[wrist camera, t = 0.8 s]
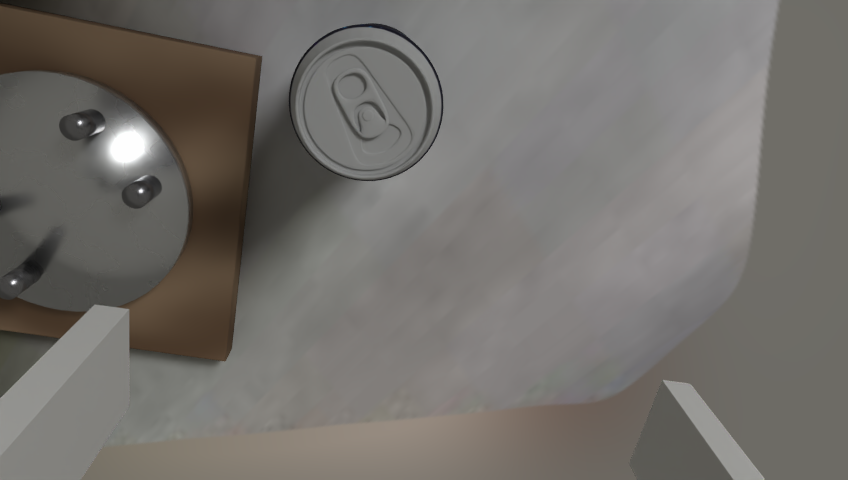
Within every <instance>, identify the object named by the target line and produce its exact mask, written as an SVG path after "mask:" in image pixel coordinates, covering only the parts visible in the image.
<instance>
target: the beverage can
mask: <svg viewBox="0 0 848 480" xmlns="http://www.w3.org/2000/svg"><path fill="white" fill-rule="evenodd" d="M289 109H290V116H291V120H292V124H293V127H294V130H295V132H296V134H297V136H298V138H299V140H300V142H301V144H302V145H303V147H304V148H305V149H306V151H307V152H308V153H309V154H310V155H311V156H312V157H313V158H314V159H315V160H316V161H317V162H318V163H319V164H321V165H322V166H323V167H325V168H326V169H328V170H330V171H331V172H333V173H335V174H338V175H340V176H343V177H346V178H349V179H354V180H361V181H376V180H383V179H387V178H391V177H393V176H396V175H399V174H401V173H403V172H405V171H406V170H408V169H409V168H411V167H412V166H414V165H415V164H416V163H417V162H418V161H420V160H421V159H422V158H423V156H424V155H425V154H426V153H427V152H428V150H429V149H430V147H431V146H432V144H433V143H434V141H435V139H436V137H437V134H438V132H439V129H440V125H441V121H442V115H443V94H442V88H441V84H440V81H439V78H438V75H437V73H436V71H435V69H434V67H433V65H432V63H431V62H430V60H429V59H428V57H427V56H426V55H425V53H424V52H423V51H422V50H421V49H420V48H419V47H418V46H417V45H416V44H415V43H414V42H413V41H412V40H410V39H409V38H408V37H407V36H406V35H405V34H403V33H402V32H400V31H398V30H397V29H395V28H392V27H390V26H386V25H382V24H360V25H352V26H347V27H343V28H340V29H337V30H335V31H332V32H330V33H328V34H327V35H325V36H323V37H322V38H320V39H319V40H318V41H317V42H315V43H314V44H313V45H312V46H311V47H310V48H309V49H308V50H307V51H306V53H305V54H304V55H303V57H302V58H301V60H300V62H299V63H298V65H297V67H296V69H295V72H294V74H293V77H292V81H291V85H290V92H289Z"/></svg>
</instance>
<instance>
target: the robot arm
mask: <svg viewBox="0 0 848 480" xmlns="http://www.w3.org/2000/svg"><path fill="white" fill-rule="evenodd" d="M128 408H129V309H125V308H117V307H110V306H102V305H94V306H93V307H92V308H91V309H90V310H89V311H88V312H87V313H86V314H85V315H84V316H83V317H82V318H80V319H79V320H78V321H77V322H76V323H75V324H74V325H73V326H72V327H71V328H70V329H69V330H68V331H67V332H66V333H65V334H64V335H63V336H62V337H61V338H60V339H59V340H58V341H57V342H56V343H55V344H54V345H53V346H52V347H51V348H50V349H49V350H48V351H47V352H46V353H45V354H44V355H43V356H42V357H41V358H40V359H39V360H38V361H37V362H36V363H35V364H34V365H33V366H32V367H31V368H30V369H29V370H28V371H27V372H26V373H25V374H24V375H23V376H22V377H21V378H20V379H19V380H18V381H17V382H16V383H15V384H14V385H13V386H12V387H11V388H10V389H9V390H8V391H7V392H6V393H5V394H4V395H3V396H2V397H1V398H0V480H81V478H82V477H83V475H84V474H85V472H86V471H87V469H88V468H89V466H90V465H91V463H92V462H93V460H94V459H95V457H96V456H97V454H98V453H99V451H100V450H101V448H102V447H103V445H104V444H105V442H106V441H107V439H108V438H109V436H110V435H111V433H112V432H113V430H114V429H115V427H116V426H117V424H118V423H119V421H120V420H121V418H122V417H123V415H124V414H125V412H126V411H127V409H128ZM629 465H630V467H631V469H632V470H633V473H634V474H635V476H636V478H637V480H765V479H764V478H763V476H762V475H761V474H760V473H759V471H758V470H757V469H756V467H755V466H754V465H753V464H752V462H751V461H750V460H749V458H748V457H747V456H746V455H745V453H744V452H743V451H742V449H741V448H740V447H739V446H738V444H737V443H736V442H735V440H734V439H733V438H732V437H731V436H730V434H729V433H728V431H727V430H726V429H725V428H724V426H723V425H722V424H721V423H720V422H719V420H718V419H717V418H716V416H715V415H714V414H713V412H712V411H711V410H710V408H709V407H708V406H707V405H706V403H705V402H704V401H703V399H702V398H701V397H700V396H699V394H698V393H697V392H696V391H695V389H694V388H693V387H692V385H691V384H688V383H680V382H673V381H666V380H662V382H661V385H660V387H659V390H658V392H657V395H656V397H655V400H654V402H653V405H652V408H651V410H650V412H649V415H648V417H647V420H646V422H645V425H644V427H643V430H642V432H641V435H640V438H639V440H638V443H637V445H636V448H635V450H634V452H633V455H632V457H631V460H630V463H629Z"/></svg>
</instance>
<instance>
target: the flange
mask: <svg viewBox="0 0 848 480" xmlns="http://www.w3.org/2000/svg"><path fill="white" fill-rule="evenodd" d="M192 221H193V196H192V189H191V184H190V181H189V177H188V174H187V170H186V168H185V166H184V163H183V161H182V159H181V156H180V154H179V153H178V151H177V149H176V147H175V146H174V144H173V142H172V141H171V139H170V138H169V137H168V135H167V134H166V133H165V131H164V130H163V129H162V127H161V126H160V125H159V124H158V123H157V122H156V121H155V120H154V119H153V118H152V117H151V116H150V114H148V113H147V112H146V111H145V110H144V109H143V108H141V107H140V106H139V105H138V104H137V103H136V102H134V101H133V100H131V99H130V98H128V97H127V96H125V95H124V94H122V93H121V92H119V91H117V90H115V89H113V88H111V87H109V86H108V85H106V84H104V83H101V82H99V81H96V80H93V79H91V78H88V77H85V76H81V75H77V74H74V73H70V72H63V71H55V70H29V71H21V72H14V73H6V74H1V75H0V298H3V299H6V300H11V299H14V298H15V297H18V298H21V299H23V300H25V301H28V302H30V303H34V304H37V305H40V306H43V307H48V308H53V309H58V310H65V311H76V312H80V311H89V310H90V309H91V308H92V307H93V306H94V305H102V306H110V307H117V306H121V305H124V304H126V303H128V302H131V301H133V300H136V299H137V298H139V297H141V296H142V295H144V294H146V293H147V292H149V291H150V290H151V289H152V288H154V287H155V286H156V285H158V284H159V282H160V281H161V280H162V279H163V278H164V277H165V276H166V275H167V274H168V273H169V272H170V271H171V269H172V268H173V267H174V266H175V264H176V263H177V261H178V260H179V258H180V257H181V255H182V253H183V251H184V249H185V247H186V245H187V242H188V239H189V236H190V232H191V228H192Z"/></svg>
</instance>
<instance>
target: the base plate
mask: <svg viewBox="0 0 848 480" xmlns="http://www.w3.org/2000/svg"><path fill="white" fill-rule="evenodd" d="M261 62H262V56H257V55H253V54H248V53H243V52H238V51H233V50H228V49H223V48H218V47H213V46H209V45H204V44H199V43H194V42H189V41H184V40H179V39H174V38H169V37H164V36H160V35H155V34H150V33H145V32H140V31H135V30H130V29H125V28H120V27H116V26H111V25H106V24H101V23H96V22H91V21H86V20H81V19H76V18H72V17H67V16H62V15H57V14H52V13H47V12H42V11H37V10H32V9H28V8H23V7H18V6H13V5H8V4H3V3H0V75H1V74H6V73H14V72H21V71H29V70H55V71H63V72H70V73H74V74H77V75H81V76H85V77H88V78H91V79H93V80H96V81H99V82H101V83H104V84H106V85H108V86H109V87H111V88H113V89H115V90H117V91H119V92H121V93H122V94H124V95H125V96H127V97H128V98H130V99H131V100H133V101H134V102H136V103H137V104H138V105H139V106H140V107H141V108H143V109H144V110H145V111H146V112H147V113H148V114H150V116H151V117H152V118H153V119H154V120H155V121H156V122H157V123H158V124H159V125H160V126H161V127H162V129H163V130H164V131H165V133H166V134H167V135H168V137H169V138H170V139H171V141H172V142H173V144H174V146H175V147H176V149H177V151H178V153H179V154H180V156H181V159H182V161H183V163H184V166H185V168H186V170H187V174H188V177H189V181H190V184H191V189H192V196H193V221H192V228H191V232H190V236H189V239H188V242H187V245H186V247H185V249H184V251H183V253H182V255H181V257H180V258H179V260H178V261H177V263H176V264H175V266H174V267H173V268H172V269H171V271H170V272H169V273H168V274H167V275H166V276H165V277H164V278H163V279H162V280H161V281H160V282H159V284H158V285H156V286H155V287H154V288H152V289H151V290H150V291H149V292H147V293H146V294H144V295H142V296H141V297H139V298H137V299H136V300H133V301H131V302H128V303H126V304H124V305H121V306H117V308H125V309H129V348H134V349H141V350H148V351H155V352H162V353H169V354H176V355H184V356H191V357H198V358H205V359H212V360H219V361H226V359H227V357H228V355H229V353H230V351H231V349H232V342H233V332H234V322H235V313H236V303H237V293H238V284H239V274H240V265H241V255H242V245H243V236H244V226H245V216H246V207H247V197H248V187H249V178H250V168H251V158H252V149H253V139H254V130H255V120H256V110H257V101H258V91H259V81H260V72H261ZM87 312H88V311H80V312H76V311H65V310H58V309H53V308H48V307H43V306H40V305H37V304H34V303H30V302H28V301H25V300H23V299H21V298H18V297H15V298H14V299H11V300H6V299H3V298H0V330H6V331H13V332H20V333H27V334H34V335H41V336H49V337H56V338H61V337H62V336H63V335H64V334H65V333H66V332H67V331H68V330H69V329H70V328H71V327H72V326H73V325H74V324H75V323H76V322H77V321H78V320H79V319H80V318H82V317H83V316H84V315H85V314H86V313H87Z"/></svg>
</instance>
